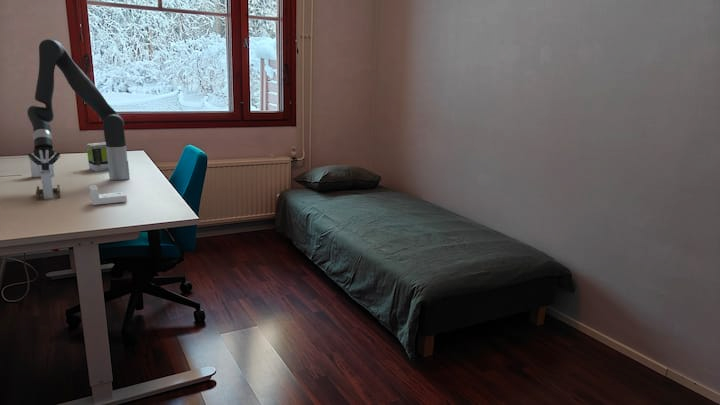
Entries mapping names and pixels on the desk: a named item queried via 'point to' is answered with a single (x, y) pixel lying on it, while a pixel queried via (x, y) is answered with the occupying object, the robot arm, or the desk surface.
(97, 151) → the tea box
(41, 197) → the walnut box
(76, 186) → the desk surface
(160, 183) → the desk surface
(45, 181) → the grey rectangular block
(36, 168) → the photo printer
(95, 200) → the bracket
